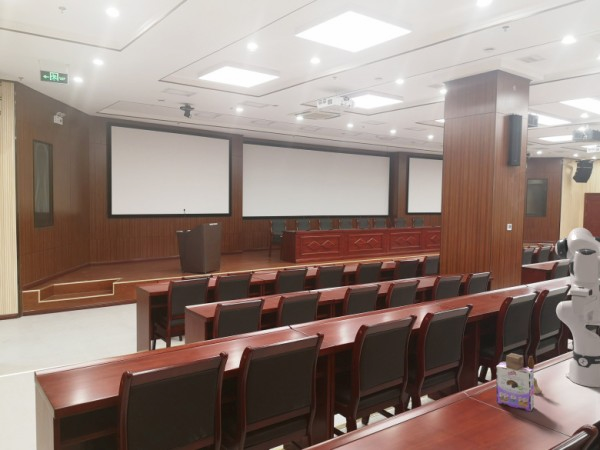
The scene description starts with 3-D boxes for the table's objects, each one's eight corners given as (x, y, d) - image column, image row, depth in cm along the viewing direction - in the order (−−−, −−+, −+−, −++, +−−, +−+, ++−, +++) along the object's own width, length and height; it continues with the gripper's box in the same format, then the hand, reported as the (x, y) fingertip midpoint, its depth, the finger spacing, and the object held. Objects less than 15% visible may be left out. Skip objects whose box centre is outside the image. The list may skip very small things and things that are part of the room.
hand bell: (545, 393, 197) (544, 358, 196) (526, 393, 197) (526, 359, 196) (535, 386, 205) (535, 352, 205) (517, 386, 205) (517, 353, 205)
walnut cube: (511, 364, 189) (511, 353, 189) (523, 367, 185) (523, 355, 185) (506, 367, 186) (506, 355, 186) (517, 370, 182) (517, 358, 182)
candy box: (534, 407, 184) (534, 369, 183) (530, 412, 179) (530, 373, 179) (500, 398, 193) (500, 361, 192) (496, 402, 189) (495, 365, 188)
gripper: (586, 284, 187) (586, 316, 187) (568, 291, 174) (568, 325, 174) (603, 286, 182) (603, 319, 182) (586, 293, 169) (586, 328, 169)
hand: (586, 322), depth 178 cm, fingers open, 8 cm apart
